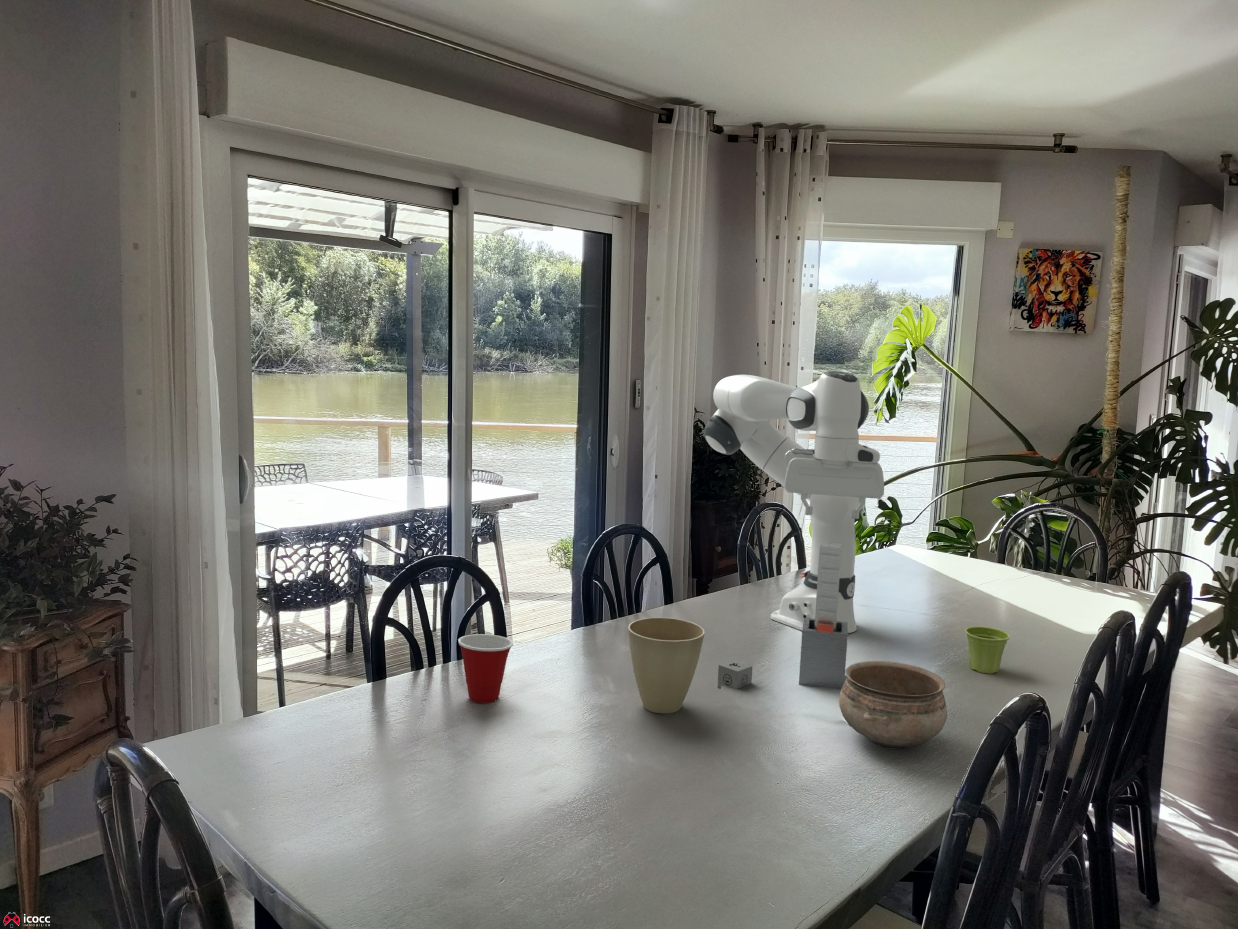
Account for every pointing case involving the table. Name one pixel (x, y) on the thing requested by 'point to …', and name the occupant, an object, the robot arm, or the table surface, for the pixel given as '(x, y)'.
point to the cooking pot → (893, 703)
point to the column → (828, 584)
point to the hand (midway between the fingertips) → (831, 516)
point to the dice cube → (734, 674)
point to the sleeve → (823, 654)
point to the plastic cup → (484, 665)
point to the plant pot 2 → (986, 648)
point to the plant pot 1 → (664, 660)
